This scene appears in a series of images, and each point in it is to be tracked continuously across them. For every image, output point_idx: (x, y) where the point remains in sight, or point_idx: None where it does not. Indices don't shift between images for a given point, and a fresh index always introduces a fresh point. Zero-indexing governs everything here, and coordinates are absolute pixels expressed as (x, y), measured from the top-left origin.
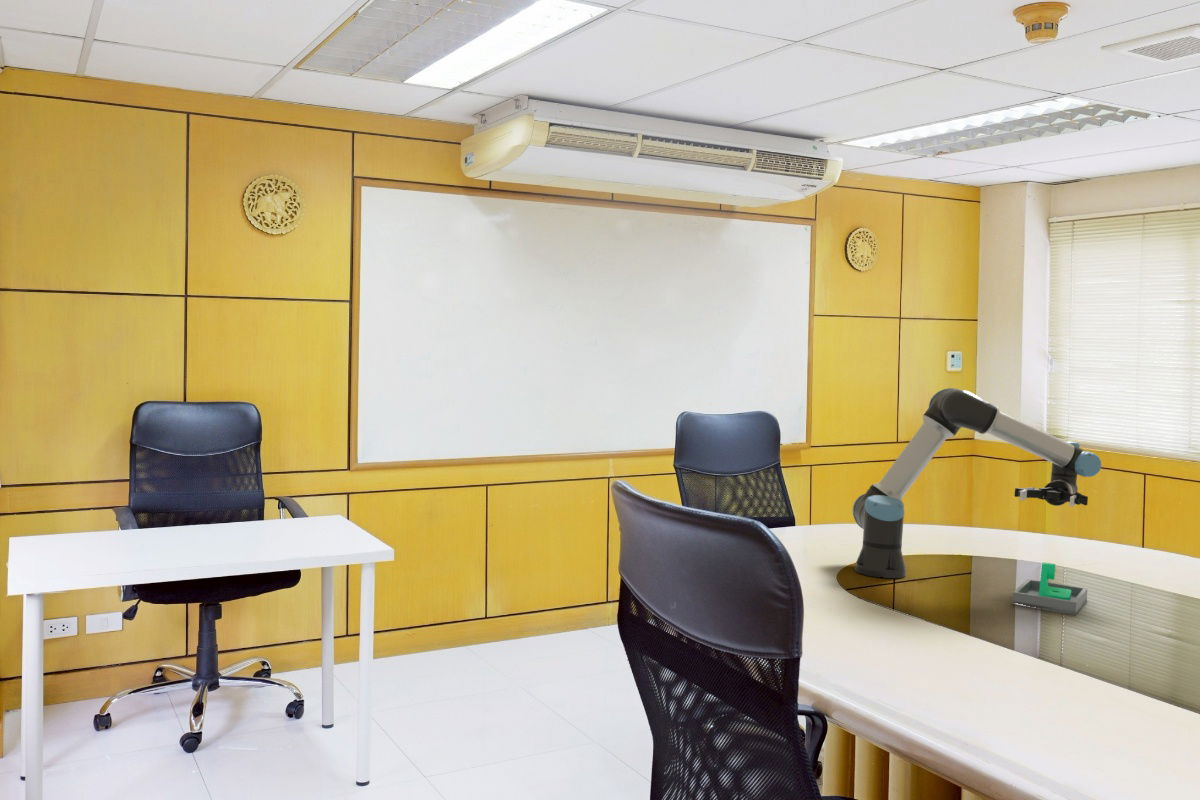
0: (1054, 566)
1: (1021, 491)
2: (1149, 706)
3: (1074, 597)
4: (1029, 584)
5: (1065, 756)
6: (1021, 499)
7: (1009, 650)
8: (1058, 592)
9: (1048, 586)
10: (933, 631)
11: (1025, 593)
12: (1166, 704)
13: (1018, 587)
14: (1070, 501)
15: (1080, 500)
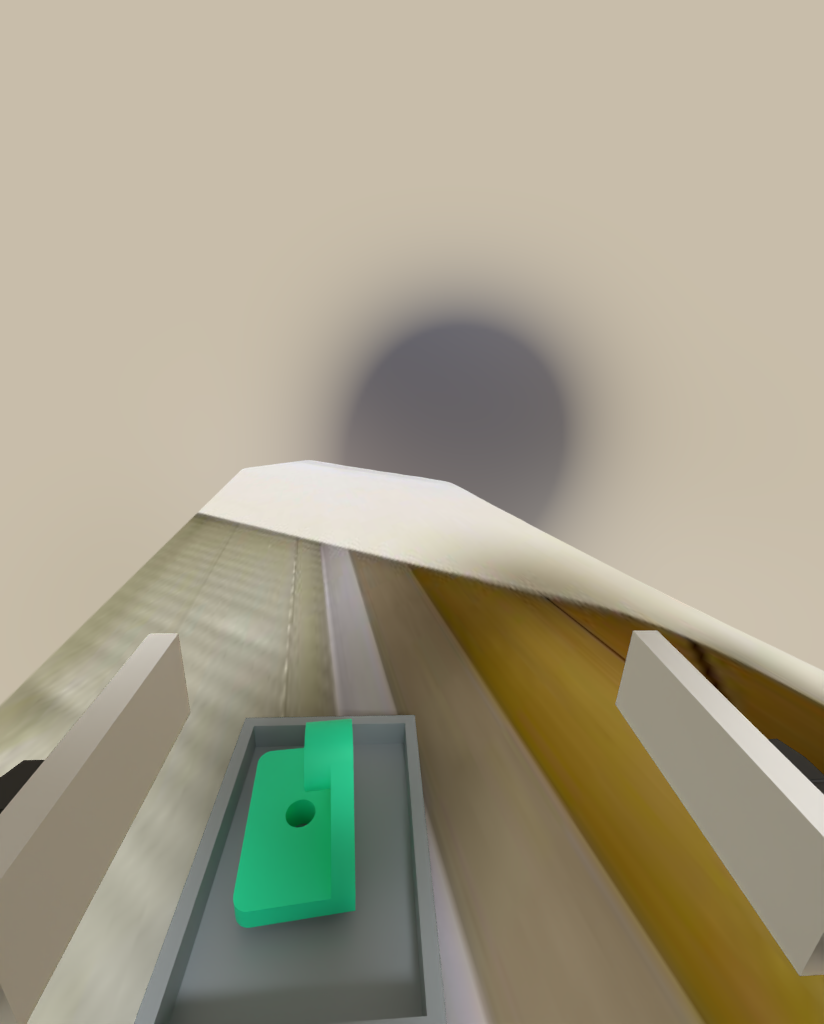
0: (307, 722)
1: (647, 631)
2: (231, 509)
3: (209, 996)
4: (423, 982)
5: (298, 471)
6: (625, 696)
7: (352, 546)
8: (289, 827)
9: (329, 898)
10: (445, 556)
11: (383, 723)
12: (214, 514)
13: (421, 786)
14: (178, 672)
15: None
